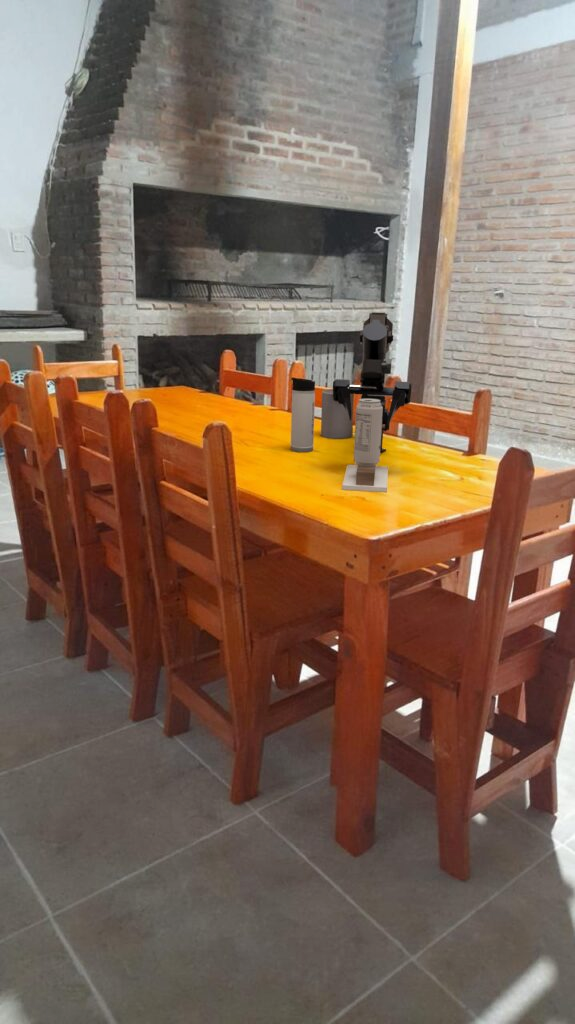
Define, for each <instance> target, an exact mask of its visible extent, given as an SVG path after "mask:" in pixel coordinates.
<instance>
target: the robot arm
mask: <svg viewBox="0 0 575 1024" xmlns="http://www.w3.org/2000/svg"><path fill="white" fill-rule="evenodd" d="M393 326H394V324H393V322H392V321H391V320H390V319H389V318H388V313H386V312H377V311H375V312H371V313H369V314H368V318H367V319H365V321H364V322H363V326H362V330H360V334H359V343H360V345H362V351H363V352H362V362H361V363H362V365H361V371H360V378H359V382H360V385H358V384H357V385H355V384H351V383H350V382H351V381H350V379H341V378H339V379H338V378H337V379H334V381H333V383H332V389H333V400H334V401H338V403H339V404H343V406H344V408H345V409H346V412H347V415H348V417H349V420H351V418H352V412H351V397H350V394H354V395H361V397H360V399H378V400H381V401H380V403H381V405H382V407H383V413H382V430H381V447H380V453H383V452H387V449H386V448H383V438H384V436H383V435H384V432H387V431H389V430H390V424H391V422H392V420H393V417H394V415H395V414H396V412H397V411H398V410H399V409H400V407H404V406H405V405H409V404H410V403H411V397H412V395H411V394H412V383H411V382H410V381H398V380H397V381H396V380H395V382H394V387H391V386H389V387H388V386H385V380H386V379H385V377H386V375H391V372H392V359H391V358H387V353H388V352H390V351H389V350H390V346H391V345H392V343H393V342H394V335H393V329H394V327H393ZM386 397H391V401H390V402H391V403H390V406H389V409H388V408H386V404H387V403H386Z"/></svg>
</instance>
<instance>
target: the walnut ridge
mask: <svg viewBox="0 0 575 1024" xmlns="http://www.w3.org/2000/svg"><path fill="white" fill-rule="evenodd" d="M375 469H376V466H373V467H363V466H358V467H357V473H356V485H368V486H374V479H375Z"/></svg>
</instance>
